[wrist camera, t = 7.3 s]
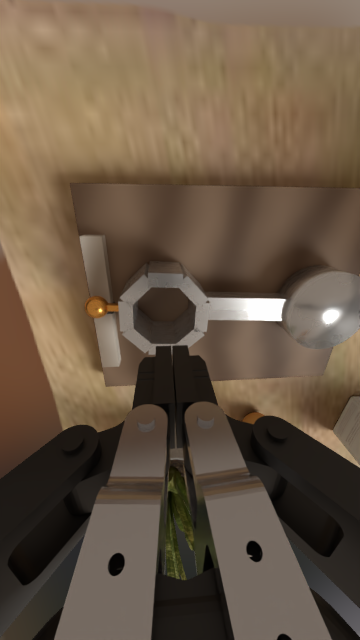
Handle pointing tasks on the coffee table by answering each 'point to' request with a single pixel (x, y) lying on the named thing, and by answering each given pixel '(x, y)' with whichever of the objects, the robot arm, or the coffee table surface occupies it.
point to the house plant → (177, 513)
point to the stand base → (213, 263)
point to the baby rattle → (239, 307)
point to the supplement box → (350, 427)
